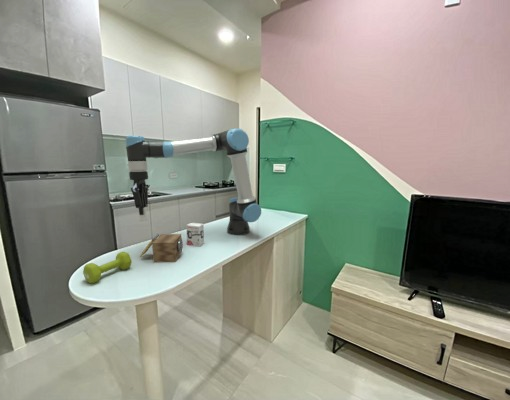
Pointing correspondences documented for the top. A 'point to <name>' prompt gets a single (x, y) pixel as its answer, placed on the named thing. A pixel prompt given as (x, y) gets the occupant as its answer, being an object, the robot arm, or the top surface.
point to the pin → (179, 245)
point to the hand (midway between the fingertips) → (143, 220)
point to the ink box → (195, 234)
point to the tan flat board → (149, 245)
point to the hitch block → (166, 248)
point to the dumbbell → (106, 267)
